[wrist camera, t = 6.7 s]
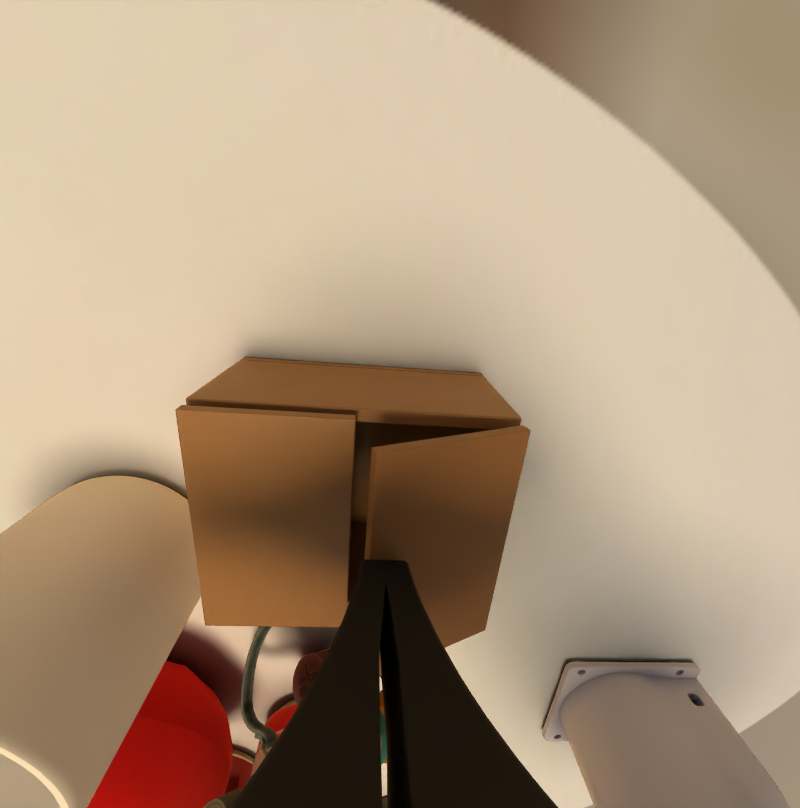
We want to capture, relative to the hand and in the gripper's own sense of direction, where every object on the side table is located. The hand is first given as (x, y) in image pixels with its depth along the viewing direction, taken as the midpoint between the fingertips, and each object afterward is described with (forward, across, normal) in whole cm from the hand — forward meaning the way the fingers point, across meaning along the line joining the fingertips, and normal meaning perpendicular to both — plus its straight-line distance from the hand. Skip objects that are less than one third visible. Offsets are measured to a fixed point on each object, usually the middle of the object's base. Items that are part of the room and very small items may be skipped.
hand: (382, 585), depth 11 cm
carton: (+8, +1, 0) cm, 8 cm away
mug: (+9, +14, +7) cm, 18 cm away
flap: (+1, -2, 0) cm, 2 cm away
